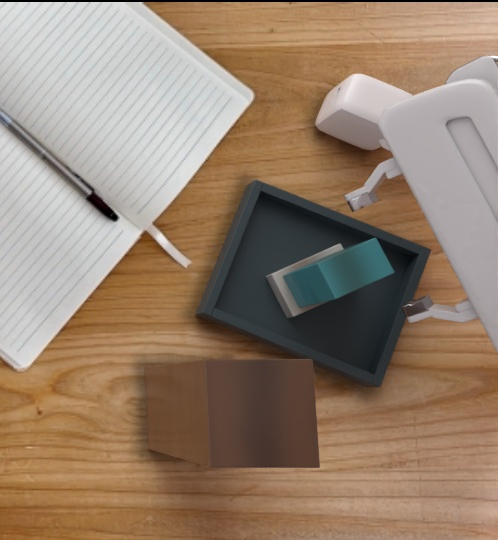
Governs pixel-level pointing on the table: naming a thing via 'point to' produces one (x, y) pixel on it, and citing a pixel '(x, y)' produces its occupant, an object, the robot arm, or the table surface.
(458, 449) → the table surface
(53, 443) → the table surface
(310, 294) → the eraser
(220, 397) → the stand
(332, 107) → the power adapter
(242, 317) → the tray
